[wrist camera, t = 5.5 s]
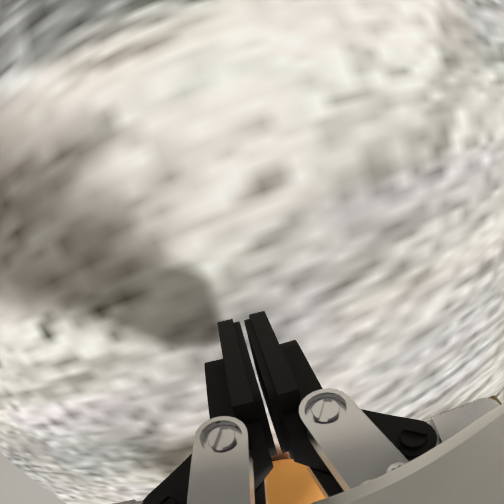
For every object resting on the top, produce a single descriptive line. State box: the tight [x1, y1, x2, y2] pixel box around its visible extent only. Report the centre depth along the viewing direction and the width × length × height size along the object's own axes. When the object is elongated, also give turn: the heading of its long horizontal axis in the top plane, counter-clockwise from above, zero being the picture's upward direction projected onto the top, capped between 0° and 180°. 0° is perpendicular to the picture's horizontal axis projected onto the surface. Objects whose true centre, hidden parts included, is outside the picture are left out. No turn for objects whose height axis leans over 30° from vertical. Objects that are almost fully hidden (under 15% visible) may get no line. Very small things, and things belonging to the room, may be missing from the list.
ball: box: [266, 459, 325, 504], centre depth 13 cm, size 6×6×6 cm
